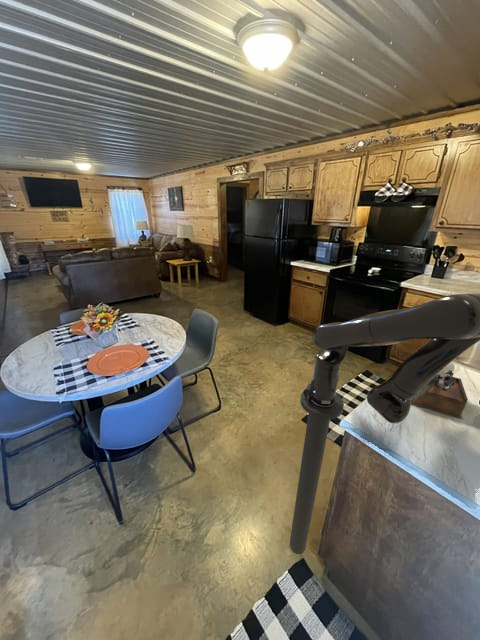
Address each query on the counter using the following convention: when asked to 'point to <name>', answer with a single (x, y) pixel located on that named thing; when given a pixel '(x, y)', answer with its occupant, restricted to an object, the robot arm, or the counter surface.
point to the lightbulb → (448, 368)
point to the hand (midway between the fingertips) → (435, 367)
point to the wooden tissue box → (445, 399)
